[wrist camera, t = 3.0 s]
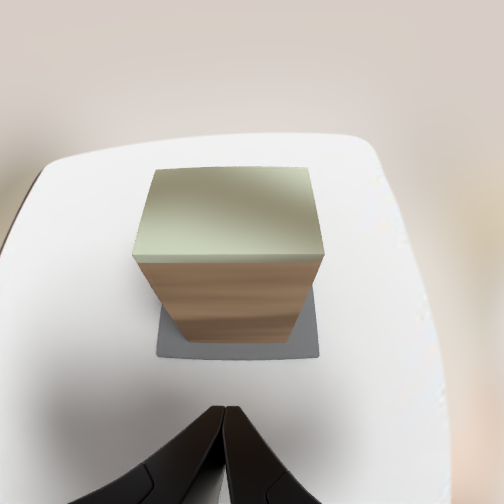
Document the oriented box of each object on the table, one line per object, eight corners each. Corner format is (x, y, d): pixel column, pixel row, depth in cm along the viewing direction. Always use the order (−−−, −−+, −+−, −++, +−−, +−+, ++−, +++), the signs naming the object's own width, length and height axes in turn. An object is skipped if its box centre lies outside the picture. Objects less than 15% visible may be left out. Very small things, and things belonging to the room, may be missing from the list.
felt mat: (317, 357, 17) (319, 355, 17) (158, 357, 17) (156, 355, 16) (296, 184, 25) (296, 180, 25) (183, 185, 25) (182, 181, 25)
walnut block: (286, 342, 17) (324, 254, 9) (188, 342, 17) (132, 254, 9) (282, 284, 19) (307, 167, 11) (192, 284, 19) (155, 169, 11)
